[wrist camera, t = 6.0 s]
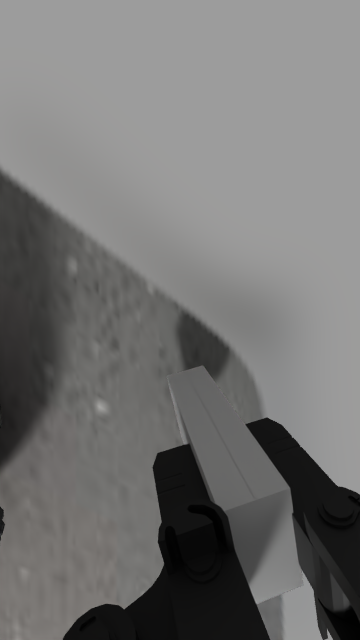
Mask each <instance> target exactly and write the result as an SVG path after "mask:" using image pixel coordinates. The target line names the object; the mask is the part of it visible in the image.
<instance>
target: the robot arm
mask: <svg viewBox="0 0 360 640" xmlns="http://www.w3.org/2000/svg"><path fill="white" fill-rule="evenodd" d="M167 380H168V384H169V388H170V392H171V396H172V400H173V405H174V409H175V413H176V417H177V421H178V425H179V429H180V433H181V437H182V440H183V442H184V445H182V446H179V447H176V448H172V449H169V450H166V451H163V452H160V453H157V456H156V459H155V462H154V465H153V472H154V478H155V483H156V490H157V495H158V502H159V508H160V514H161V520H162V523H161V525H160V527H159V534H158V544H159V547H160V550H161V554H162V557H163V560H164V566H163V569H162V571H161V573H160V575H159V577H158V578H157V580H156V581H155V583H154V584H153V586H151V587H150V588H149V589H148V590H147V591H146V592H145V593H144V594H143V595H142V596H141V597H139V598H138V599H137V600H136V601H134V602H133V603H132V604H131V605H129V606H128V607H127V608H126V609H123V608H122V607H120V606H119V605H112V604H104V605H101V606H98V607H95V608H92V609H90V610H89V611H88V612H86V613H85V614H84V615H82V616H81V617H80V618H78V619H77V620H76V622H75V623H74V624H73V625H72V627H71V628H70V629H69V631H68V632H67V633H66V634H65V636H64V638H63V640H270V638H269V636H268V633H267V630H266V628H265V625H264V623H263V620H262V618H261V615H260V613H259V610H258V607H257V605H256V604H258V603H260V602H263V601H265V600H268V599H270V598H273V597H275V596H278V595H281V594H283V593H285V592H288V591H291V590H293V589H295V588H298V587H301V586H303V577H302V571H303V572H304V574H305V576H306V577H307V579H308V581H309V583H310V585H311V586H312V588H313V590H314V597H315V605H316V613H317V620H318V627H319V630H320V633H321V636H322V639H323V640H325V639H327V638H328V636H327V629H328V631H329V633H330V635H331V636H332V638H333V640H360V495H359V494H358V493H356V492H354V491H352V490H349V489H347V488H344V487H338V486H337V485H336V484H335V483H334V482H333V481H332V480H331V479H330V478H329V477H328V476H327V474H325V472H324V471H323V470H322V469H321V468H320V467H319V466H318V465H317V463H316V462H315V461H314V460H313V459H312V458H311V457H310V456H309V455H308V454H307V452H306V451H305V450H304V449H303V448H302V447H300V445H299V444H298V442H297V441H296V440H295V439H294V438H292V436H291V435H290V434H289V433H288V431H287V430H286V429H285V428H284V427H283V426H282V425H281V424H279V423H277V422H275V421H273V420H271V419H269V418H264V419H261V420H258V421H254V422H251V423H248V424H244V422H243V421H242V419H241V418H240V417H239V415H238V414H237V412H236V411H235V410H234V408H233V407H232V405H231V404H230V402H229V401H228V400H227V398H226V397H225V395H224V394H223V393H222V391H221V390H220V388H219V387H218V386H217V384H216V383H215V381H214V380H213V379H212V377H211V376H210V374H209V373H208V371H207V370H206V369H205V367H204V366H203V365H202V366H199V367H195V368H192V369H188V370H184V371H181V372H177V373H174V374H170V375H167ZM301 569H302V570H301Z"/></svg>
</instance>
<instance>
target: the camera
mask: <svg viewBox="0 0 360 640" xmlns="http://www.w3.org/2000/svg"><path fill="white" fill-rule="evenodd" d="M1 425H2V418H1V406H0V427H1ZM3 517H4V510H3V509H2V508H1V507H0V540H1V535H2V533H3V530H4V526H5V524H4V522H3V521H2V519H3Z"/></svg>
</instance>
